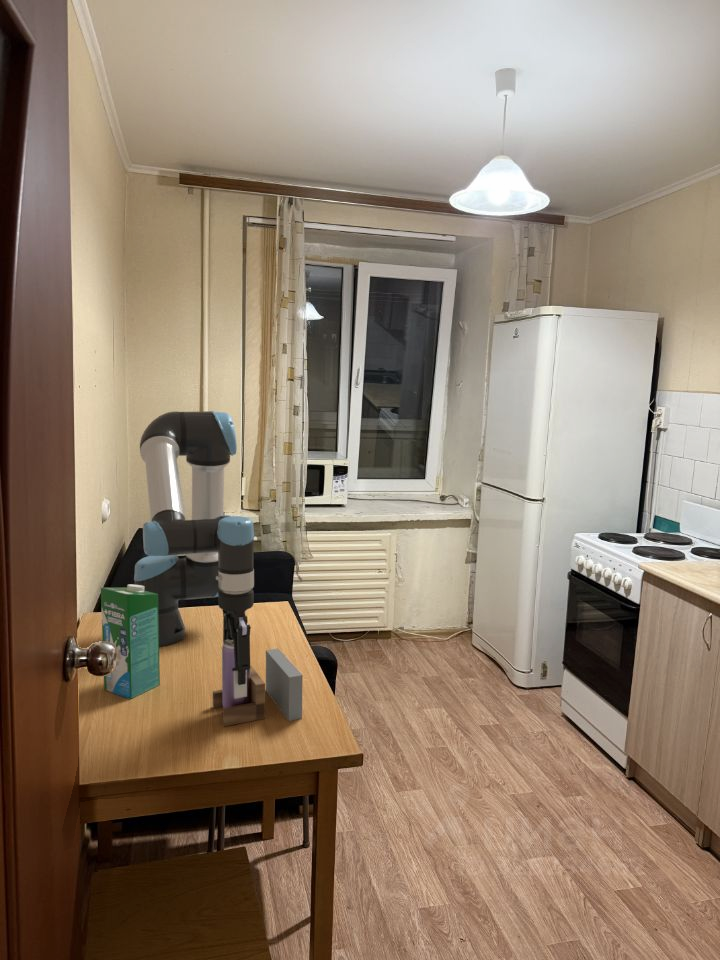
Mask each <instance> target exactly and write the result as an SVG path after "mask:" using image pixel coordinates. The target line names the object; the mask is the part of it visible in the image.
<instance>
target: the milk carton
mask: <svg viewBox="0 0 720 960" xmlns="http://www.w3.org/2000/svg"><path fill="white" fill-rule="evenodd" d="M100 602H101V603H100V605H101V608H100V609H101V633H102V642H103V641H108V642H111V643H113V644H114V645H115V647H116V650H117V661H116V666H115V669H114V670H113V672H111V673H110V674H109V675H106V676H104V675H103V690H105V691H106V692H107V691H108V692H110V693H112V694H116V695H118V696H120V697H123V698H127V699H129V700H132V699H134V698H136V697H138V696H140V695H142V694H144V693H147V692H148V691H150V690H152V689H154V688H156V687H159V686H160V685H161V682H160V681H161V677H160V676H161V675H160V671H161V670H160V646H159V621H158V594H156V593H152V592H148V591H144V586H142V585H135V584H127V586H126V587H101V588H100Z"/></svg>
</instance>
